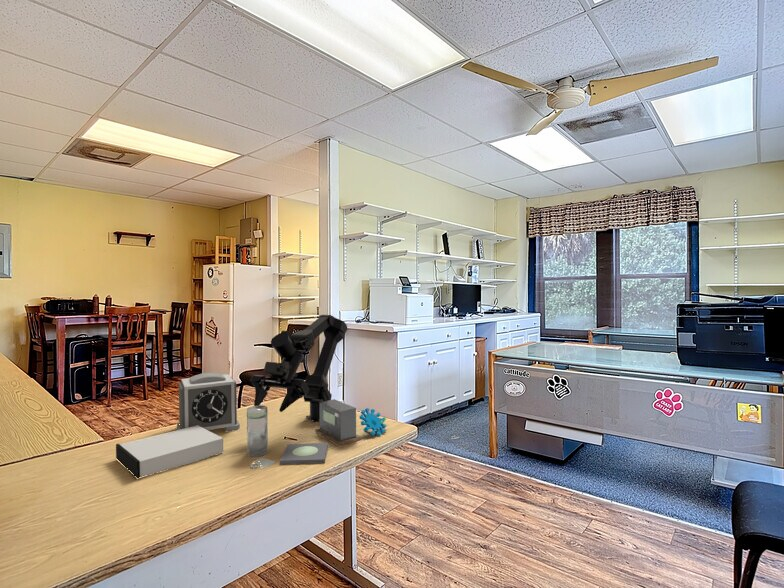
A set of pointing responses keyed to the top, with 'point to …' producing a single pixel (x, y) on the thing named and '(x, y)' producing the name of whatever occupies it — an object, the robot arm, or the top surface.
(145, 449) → the disc drive
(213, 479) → the top surface
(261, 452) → the canister
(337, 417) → the control unit
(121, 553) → the top surface
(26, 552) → the top surface
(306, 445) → the pad
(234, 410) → the alarm clock
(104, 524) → the top surface
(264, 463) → the mounting bracket
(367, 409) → the gear
